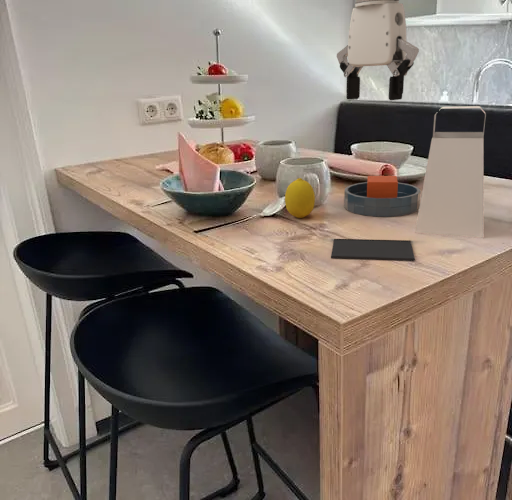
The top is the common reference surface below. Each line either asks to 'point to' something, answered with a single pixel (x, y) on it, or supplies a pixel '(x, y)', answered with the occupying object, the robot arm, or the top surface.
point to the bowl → (382, 201)
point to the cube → (382, 186)
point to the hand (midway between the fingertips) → (373, 99)
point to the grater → (454, 185)
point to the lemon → (299, 198)
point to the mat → (372, 249)
